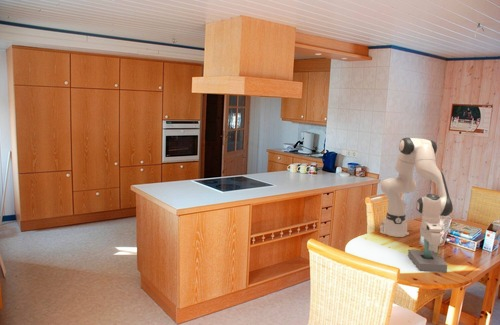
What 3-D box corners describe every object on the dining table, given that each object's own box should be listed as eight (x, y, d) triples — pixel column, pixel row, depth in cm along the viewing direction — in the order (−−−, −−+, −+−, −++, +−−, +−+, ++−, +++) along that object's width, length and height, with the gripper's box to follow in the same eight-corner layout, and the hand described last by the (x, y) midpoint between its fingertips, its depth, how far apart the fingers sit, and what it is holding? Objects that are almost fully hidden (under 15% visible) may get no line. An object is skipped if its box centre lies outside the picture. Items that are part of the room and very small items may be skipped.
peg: (422, 255, 219) (423, 238, 218) (429, 255, 219) (431, 238, 217) (424, 258, 215) (426, 240, 214) (432, 258, 215) (433, 241, 214)
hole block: (407, 256, 228) (408, 249, 228) (432, 257, 227) (433, 250, 227) (419, 270, 209) (420, 263, 208) (446, 272, 207) (447, 265, 207)
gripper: (418, 218, 225) (416, 241, 227) (431, 229, 205) (428, 254, 207) (429, 218, 224) (427, 241, 226) (443, 230, 204) (441, 255, 206)
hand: (428, 248), depth 216 cm, fingers closed on peg, 4 cm apart
